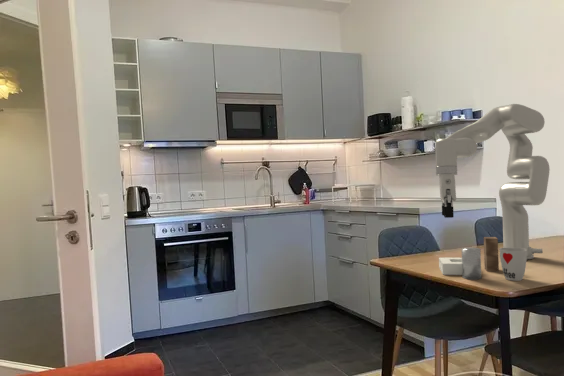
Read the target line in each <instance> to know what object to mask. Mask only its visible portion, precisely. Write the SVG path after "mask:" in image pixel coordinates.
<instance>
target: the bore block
mask: <svg viewBox="0 0 564 376" xmlns="http://www.w3.org/2000/svg"><path fill="white" fill-rule="evenodd" d="M438 269H439V270H440V272H441V275H444V276H449V275H450V276H462V257H438Z"/></svg>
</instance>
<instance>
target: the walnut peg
mask: <svg viewBox="0 0 564 376" xmlns="http://www.w3.org/2000/svg"><path fill="white" fill-rule="evenodd" d="M483 255H484V256H483V259H484V260H483V261H484V262H483V263H484V270H485V271H486V272H499V270H500V267H499V262H500V261H499V239H498V238H497V237H496V236H484V237H483Z"/></svg>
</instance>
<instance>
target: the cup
mask: <svg viewBox="0 0 564 376" xmlns="http://www.w3.org/2000/svg"><path fill="white" fill-rule="evenodd" d="M499 258H500V264H501V269H502V273H503V275H504V279H506V280H508V281H514V282H516V281H517V282H518V281H519V282H520V281H523V278H524V275H525V272H526V267H527V260H528V259H527V250H526V249H523V248H511V247H509V248H503V247H500V248H499ZM526 259H527V260H526Z"/></svg>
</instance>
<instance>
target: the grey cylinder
mask: <svg viewBox="0 0 564 376" xmlns="http://www.w3.org/2000/svg"><path fill="white" fill-rule="evenodd" d="M481 254H482V253H481V248H478V247H462V248H461V258H462V275H461V276H462V279H465V280H471V281H474V280H475V281H476V280H477V281H478V280H481V279H482V257H481V256H482V255H481Z"/></svg>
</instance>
